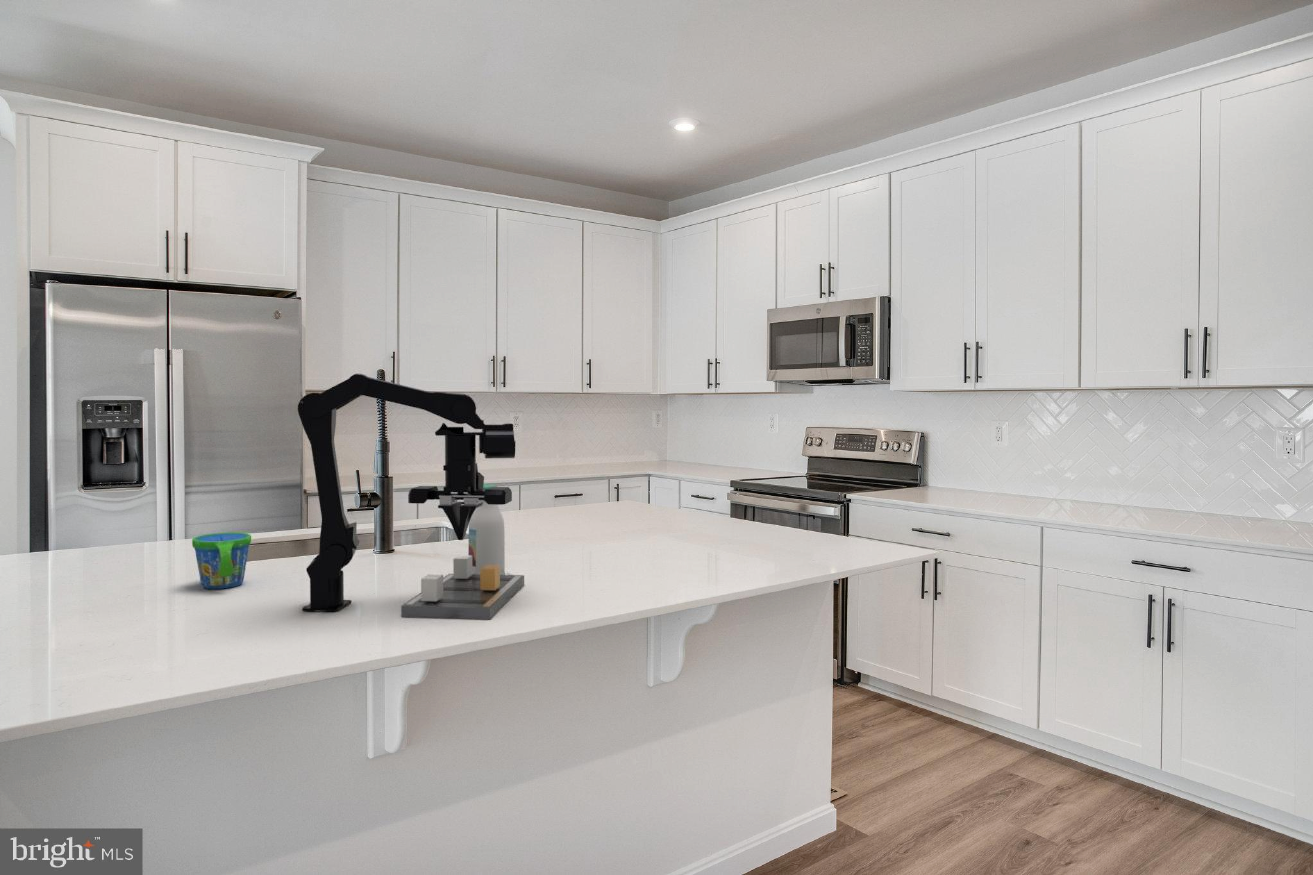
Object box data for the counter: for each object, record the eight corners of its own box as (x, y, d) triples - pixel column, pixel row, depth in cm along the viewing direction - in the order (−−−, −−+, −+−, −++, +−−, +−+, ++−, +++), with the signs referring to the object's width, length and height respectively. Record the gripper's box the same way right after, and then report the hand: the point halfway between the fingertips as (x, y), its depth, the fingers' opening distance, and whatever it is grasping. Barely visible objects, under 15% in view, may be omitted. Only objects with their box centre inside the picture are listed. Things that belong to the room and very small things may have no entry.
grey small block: (436, 601, 139) (436, 579, 139) (421, 600, 140) (421, 578, 139) (443, 596, 143) (443, 574, 143) (428, 595, 143) (428, 574, 143)
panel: (490, 619, 137) (490, 607, 137) (401, 617, 138) (401, 605, 138) (524, 584, 163) (524, 575, 163) (449, 582, 164) (449, 573, 163)
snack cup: (252, 591, 155) (251, 540, 154) (190, 597, 150) (189, 544, 150) (251, 575, 169) (251, 529, 168) (195, 580, 164) (194, 532, 163)
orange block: (494, 590, 148) (494, 569, 148) (480, 589, 148) (480, 569, 148) (499, 585, 151) (499, 565, 151) (485, 585, 152) (485, 565, 151)
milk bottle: (508, 573, 174) (508, 484, 173) (498, 580, 166) (498, 487, 165) (475, 571, 174) (475, 483, 173) (463, 579, 167) (463, 487, 166)
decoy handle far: (467, 578, 157) (466, 558, 157) (453, 578, 158) (453, 558, 157) (472, 574, 161) (472, 555, 161) (459, 574, 161) (459, 555, 161)
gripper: (518, 456, 156) (518, 533, 157) (427, 455, 158) (428, 531, 158) (504, 460, 145) (504, 543, 146) (406, 459, 146) (407, 541, 147)
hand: (461, 539), depth 150 cm, fingers closed
